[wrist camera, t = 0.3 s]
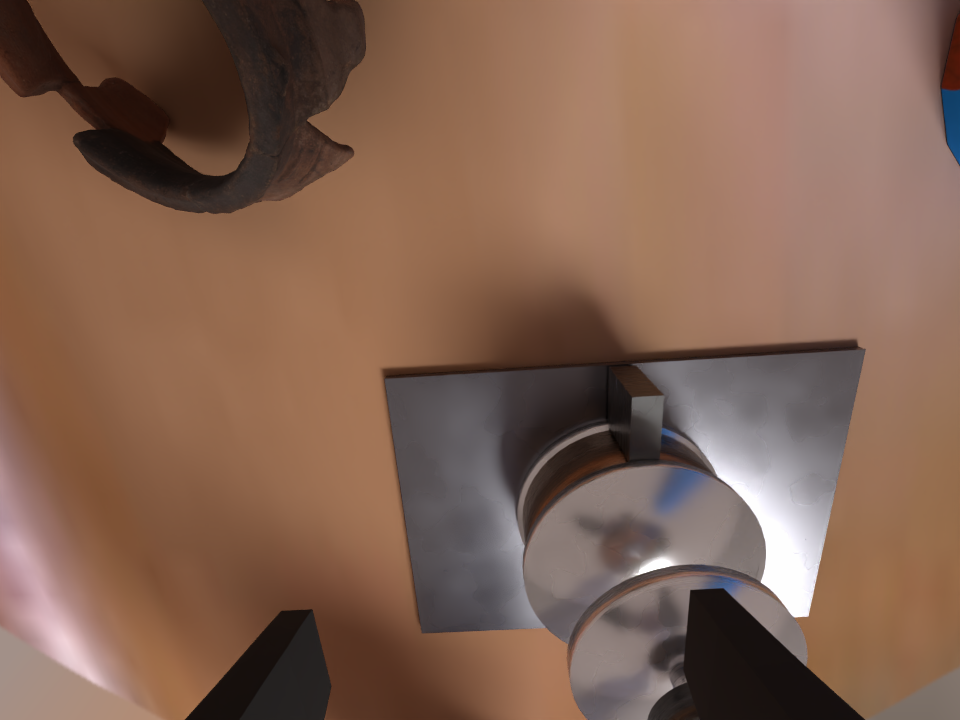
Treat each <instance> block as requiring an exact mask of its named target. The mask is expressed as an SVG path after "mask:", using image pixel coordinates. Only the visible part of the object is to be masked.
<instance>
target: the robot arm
mask: <svg viewBox="0 0 960 720" xmlns="http://www.w3.org/2000/svg"><path fill="white" fill-rule="evenodd" d="M683 671H684V674H685V677H686V680H687V683H688V686H689V689H690V692H691V695H692V698H693V701H694V704H695V707H696V710H697V713H698V716H699V719H700V720H865V719H864V718H863V717H861V716H860V715H859V714H858V713H857V712H856V711H855V710H854V709H853V708H851V707H850V706H849V705H848V704H847V703H846V702H845V701H844V700H843V699H841V698H840V697H839V696H838V695H837V694H836V693H835V692H834V691H833V690H831V689H830V688H829V687H828V686H827V685H826V684H825V683H824V682H823V681H821V680H820V679H819V678H818V677H817V676H816V675H815V674H814V673H813V672H812V671H811V670H809V669H808V668H807V667H806V666H805V665H804V664H803V663H802V662H801V661H800V660H799V659H798V658H797V657H796V656H794V655H793V654H792V653H791V652H790V651H789V650H788V649H787V648H786V647H785V646H784V645H783V644H782V643H781V642H780V641H779V640H777V639H776V638H775V637H774V636H773V635H772V634H771V633H770V632H769V631H768V630H767V629H766V628H765V627H764V626H763V625H762V624H761V623H760V622H759V621H758V620H756V619H755V618H754V617H753V616H752V615H751V614H750V613H749V612H748V611H747V610H746V609H745V608H744V607H743V606H742V605H741V604H740V603H739V602H738V601H737V600H736V599H734V598H733V597H732V596H731V595H730V594H729V593H728V592H727V591H726V590H725V589H724V588H716V589H696V590H690V598H689V609H688V620H687V632H686V643H685V654H684V666H683ZM330 690H331V683H330V679H329V675H328V671H327V667H326V663H325V659H324V655H323V651H322V647H321V643H320V639H319V634H318V630H317V626H316V622H315V618H314V614H313V610H312V609H311V610H292V611H281V612H280V613H279V614H278V615H277V616H276V617H275V619H274V620H273V621H272V622H271V623H270V624H269V625H268V626H267V627H266V629H265V630H264V631H263V632H262V633H261V634H260V635H259V637H258V638H257V639H256V640H255V641H254V642H253V643H252V645H251V646H250V647H249V648H248V649H247V650H246V651H245V653H244V654H243V655H242V656H241V657H240V658H239V660H238V661H237V662H236V663H235V664H234V665H233V666H232V667H231V669H230V670H229V671H228V672H227V673H226V674H225V675H224V677H223V678H222V679H221V680H220V681H219V682H218V683H217V685H216V686H215V687H214V688H213V689H212V690H211V691H210V692H209V694H208V695H207V696H206V697H205V698H204V699H203V700H202V701H201V702H200V703H199V705H198V706H197V707H196V708H195V709H194V710H193V711H192V712H191V713H190V715H189V716H188V717H187V718H186V719H185V720H324V718H325V713H326V709H327V704H328V699H329V695H330Z"/></svg>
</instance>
